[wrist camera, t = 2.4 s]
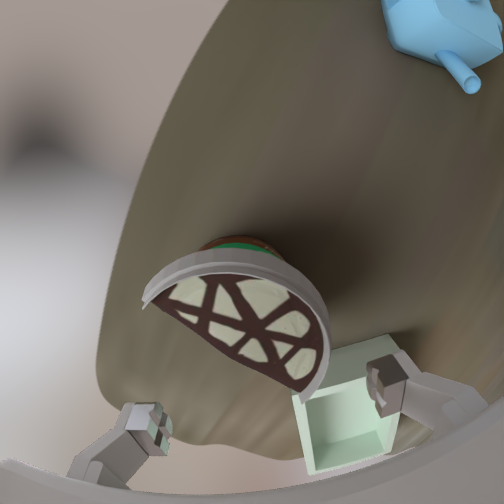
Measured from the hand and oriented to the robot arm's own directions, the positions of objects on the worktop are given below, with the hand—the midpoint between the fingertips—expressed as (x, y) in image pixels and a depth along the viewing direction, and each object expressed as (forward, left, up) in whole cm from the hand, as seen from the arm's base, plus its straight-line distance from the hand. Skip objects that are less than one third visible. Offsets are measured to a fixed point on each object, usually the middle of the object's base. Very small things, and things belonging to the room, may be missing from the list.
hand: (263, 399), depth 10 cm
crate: (-6, +19, -15) cm, 25 cm away
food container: (0, 0, -15) cm, 15 cm away
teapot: (-20, -20, -15) cm, 32 cm away
